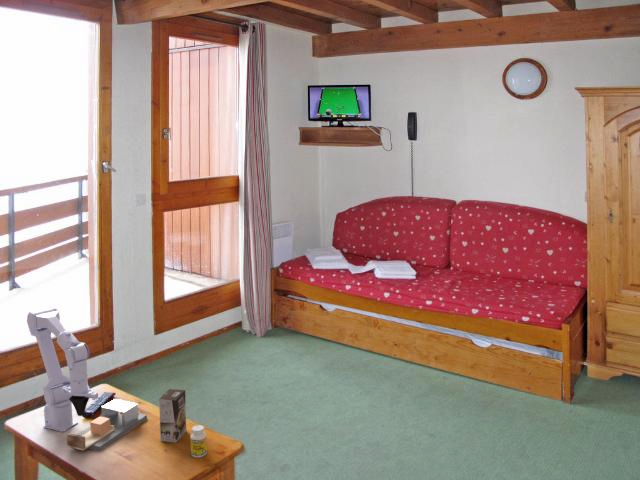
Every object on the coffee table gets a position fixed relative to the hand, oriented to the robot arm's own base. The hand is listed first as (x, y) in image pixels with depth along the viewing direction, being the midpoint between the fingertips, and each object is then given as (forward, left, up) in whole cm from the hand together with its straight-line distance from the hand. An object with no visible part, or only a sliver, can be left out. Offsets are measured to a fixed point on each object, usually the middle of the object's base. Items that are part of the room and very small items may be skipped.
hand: (81, 414), depth 229 cm
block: (+4, +4, -7) cm, 10 cm away
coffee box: (+28, +15, -10) cm, 33 cm away
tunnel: (+5, +15, -8) cm, 17 cm away
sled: (+4, -1, -8) cm, 9 cm away
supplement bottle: (+43, +8, -10) cm, 45 cm away
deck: (+4, +9, -9) cm, 14 cm away
